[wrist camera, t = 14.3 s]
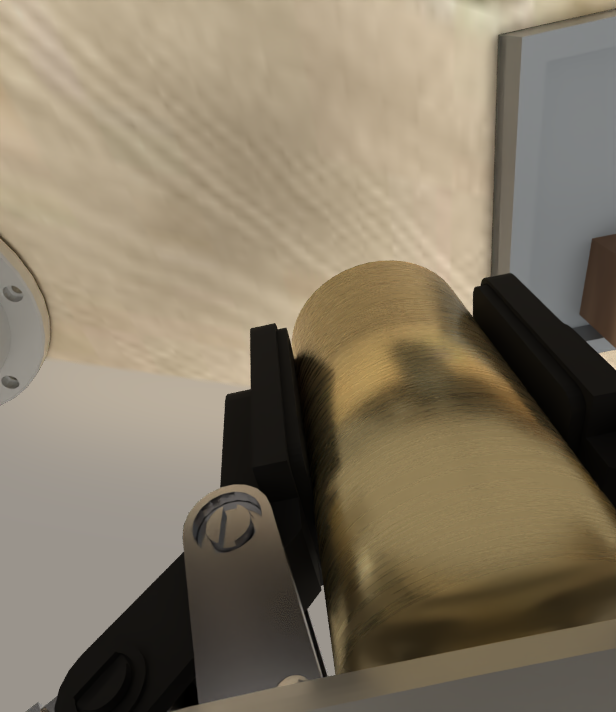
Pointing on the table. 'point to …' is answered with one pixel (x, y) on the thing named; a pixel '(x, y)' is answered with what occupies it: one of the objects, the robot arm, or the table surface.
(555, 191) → the tray
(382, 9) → the table surface
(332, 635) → the brass cylinder
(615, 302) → the walnut block
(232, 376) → the table surface
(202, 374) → the table surface
